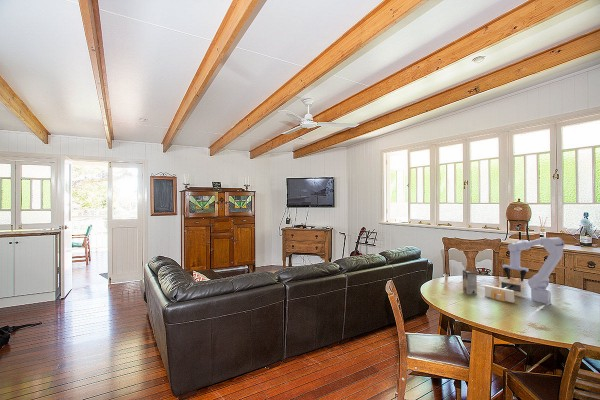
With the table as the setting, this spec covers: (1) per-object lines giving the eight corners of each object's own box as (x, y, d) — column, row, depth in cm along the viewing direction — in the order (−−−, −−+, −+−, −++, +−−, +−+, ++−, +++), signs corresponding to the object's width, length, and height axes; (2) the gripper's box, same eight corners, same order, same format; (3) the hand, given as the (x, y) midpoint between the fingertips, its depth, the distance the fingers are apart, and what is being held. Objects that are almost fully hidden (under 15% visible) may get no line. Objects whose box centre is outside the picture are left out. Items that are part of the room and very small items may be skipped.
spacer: (504, 303, 184) (504, 292, 184) (503, 303, 183) (503, 292, 184) (492, 300, 190) (492, 289, 190) (491, 300, 189) (491, 290, 189)
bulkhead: (514, 304, 182) (514, 290, 182) (513, 305, 181) (513, 291, 181) (486, 297, 195) (486, 285, 195) (484, 298, 194) (484, 285, 194)
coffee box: (462, 292, 208) (462, 269, 208) (472, 292, 206) (471, 270, 206) (467, 296, 199) (466, 272, 199) (477, 296, 197) (477, 273, 197)
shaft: (521, 291, 196) (520, 285, 196) (511, 296, 186) (511, 289, 186) (502, 287, 205) (502, 281, 205) (492, 292, 195) (492, 286, 195)
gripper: (500, 259, 204) (501, 278, 204) (525, 262, 192) (526, 283, 192) (504, 258, 208) (504, 277, 208) (529, 261, 196) (529, 281, 196)
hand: (515, 280), depth 200 cm, fingers open, 7 cm apart
